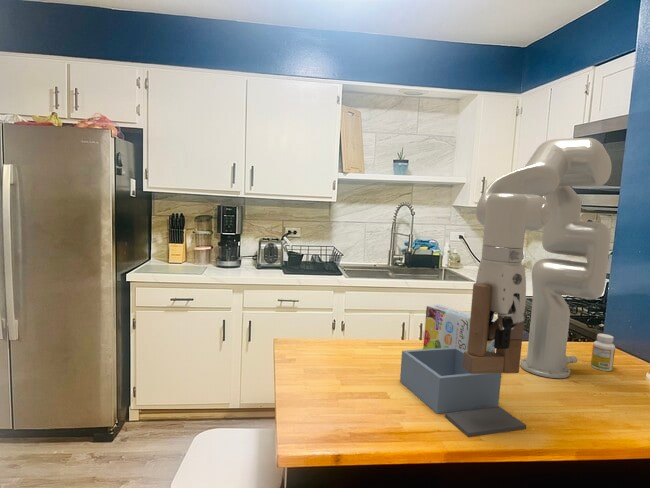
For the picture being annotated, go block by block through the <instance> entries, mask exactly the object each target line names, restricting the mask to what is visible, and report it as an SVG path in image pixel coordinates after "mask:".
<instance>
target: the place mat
mask: <svg viewBox="0 0 650 488" xmlns="http://www.w3.org/2000/svg"><path fill="white" fill-rule="evenodd" d="M444 417H445V419H446V420H448V421H449V422H450V423H451V424H452V425H454V426H455V427H456V428H457V429H458V430H459V431H461V432H462V433H463V434H464V435H465V436H466V437H468V438H470V437H478V436H483V435H491V434H499V433H504V432H511V431H518V430H526V429H527V424H526V423H525V422H523V421H522V420H520V419H518V418H517V417H515V416H514V415H512V414H511V413H510V412H508V411H507V410H505V409H503V408H502V407H501V406H498V407H491V408H482V409H474V410H466V411H457V412H449V413H444Z"/></svg>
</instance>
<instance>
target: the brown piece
mask: <svg viewBox="0 0 650 488" xmlns="http://www.w3.org/2000/svg"><path fill="white" fill-rule="evenodd" d="M472 285H473V286H472V297H471V307H470V314H471V317H470V328H469V340H468V351H465V352H464V358H463V368H464V369H465V370H467V371H468V372H469V373H471V374H490V373H501V374H520V373H519V372H520V367H521V365H520V362H521V355H522V345H523V338H524V329H525V328H524V327H525V320H524V321H522V322H520V323H517V324H516V325H515V326H514V329H513V330H511V334H510V344H509V348H508V349H496V348H495V353H494V352H490V351H486V349H487V338H490V339H491V340H494V339H495V331H496V329H499V328H498V318H497V319H496V320H494V321H495V322H494V323H492V324H491V325H490V326H489V317H490V305H491V290H492V287H491V285H488V284H485V283H476V282H474V283H473V284H472ZM526 309H527V306H526V305H525V311H524V313H523V315H524V318H526ZM506 320H507V317H504V321H506Z"/></svg>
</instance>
